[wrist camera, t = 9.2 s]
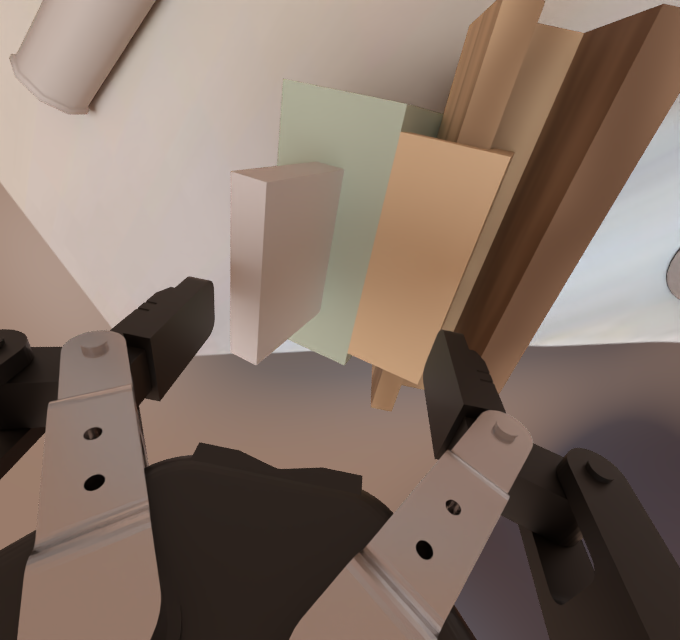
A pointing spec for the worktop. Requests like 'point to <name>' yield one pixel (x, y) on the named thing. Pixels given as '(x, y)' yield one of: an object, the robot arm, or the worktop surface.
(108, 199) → the worktop surface
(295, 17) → the worktop surface
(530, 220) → the wall board
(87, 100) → the tube
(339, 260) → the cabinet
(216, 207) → the worktop surface
